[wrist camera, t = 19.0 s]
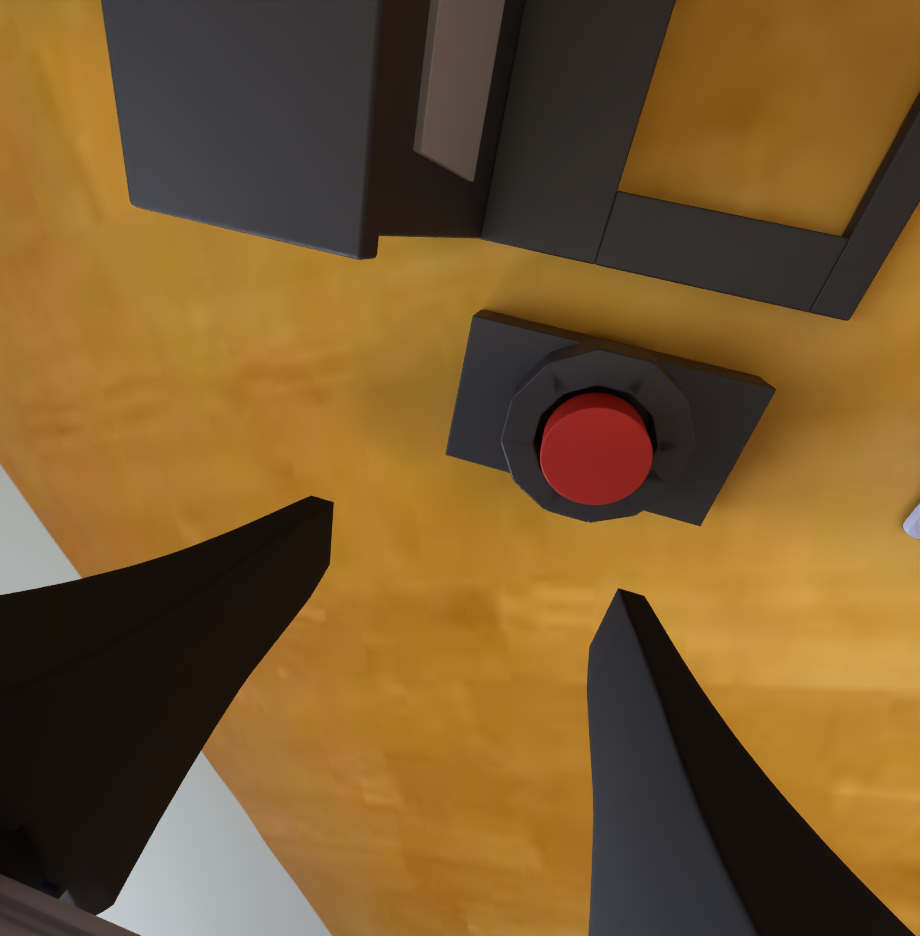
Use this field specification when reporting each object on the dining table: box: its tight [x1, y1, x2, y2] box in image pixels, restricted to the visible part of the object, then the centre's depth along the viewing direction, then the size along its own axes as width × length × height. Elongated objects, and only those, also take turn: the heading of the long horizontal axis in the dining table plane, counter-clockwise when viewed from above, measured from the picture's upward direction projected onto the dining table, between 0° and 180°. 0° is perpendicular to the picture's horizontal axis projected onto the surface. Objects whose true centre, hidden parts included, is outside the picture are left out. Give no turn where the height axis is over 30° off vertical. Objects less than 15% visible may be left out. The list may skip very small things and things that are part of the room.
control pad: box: [446, 310, 776, 526], centre depth 18 cm, size 11×6×4 cm, turn 79°
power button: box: [540, 393, 653, 505], centre depth 16 cm, size 4×4×2 cm
